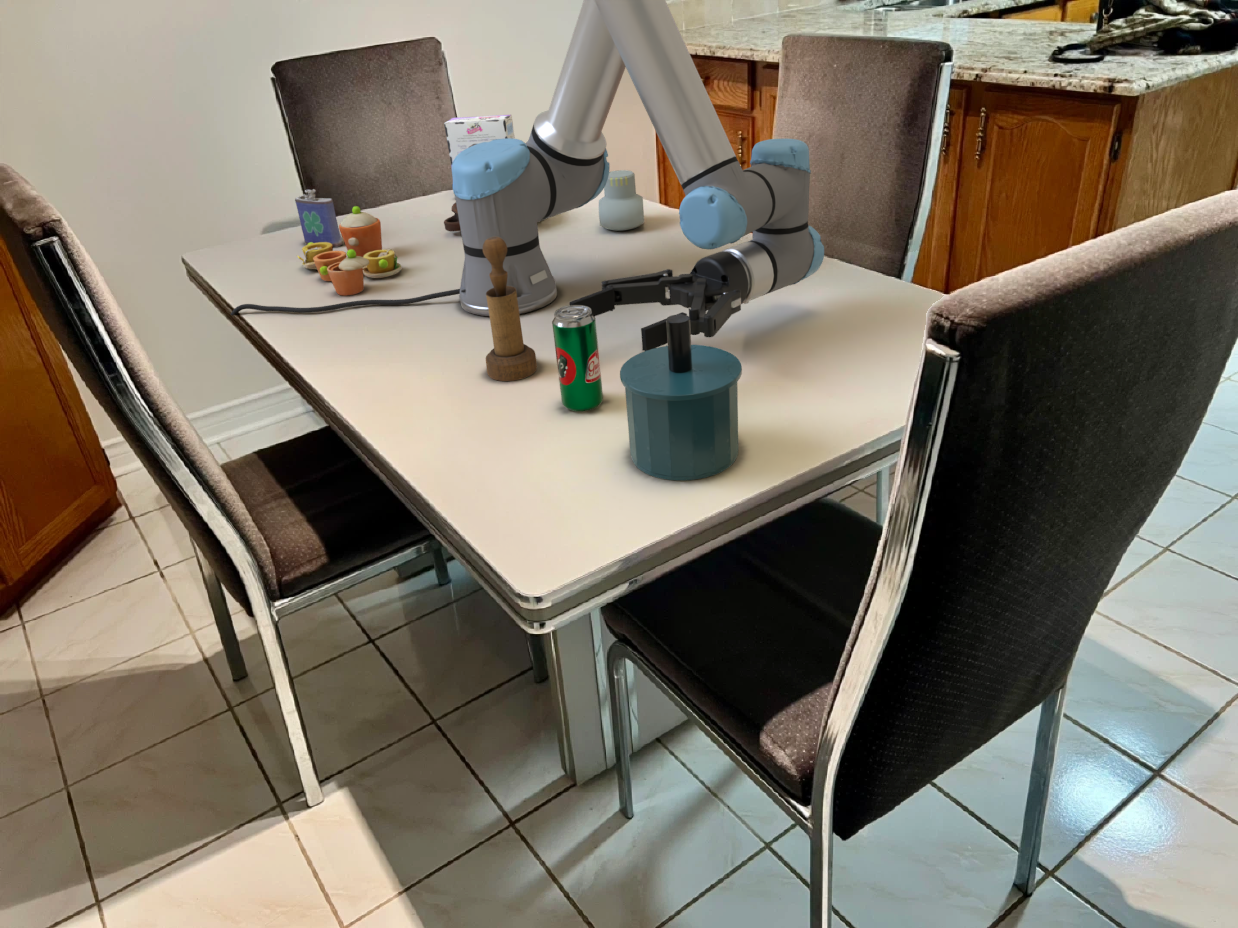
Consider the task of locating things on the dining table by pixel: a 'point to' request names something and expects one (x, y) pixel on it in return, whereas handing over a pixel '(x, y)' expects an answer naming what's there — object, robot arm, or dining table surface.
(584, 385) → the soda can
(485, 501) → the dining table surface
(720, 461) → the pot
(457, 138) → the candy box
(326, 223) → the flask
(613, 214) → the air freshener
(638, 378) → the pot lid
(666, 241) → the dining table surface
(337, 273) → the toy tea set
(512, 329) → the mortar and pestle
